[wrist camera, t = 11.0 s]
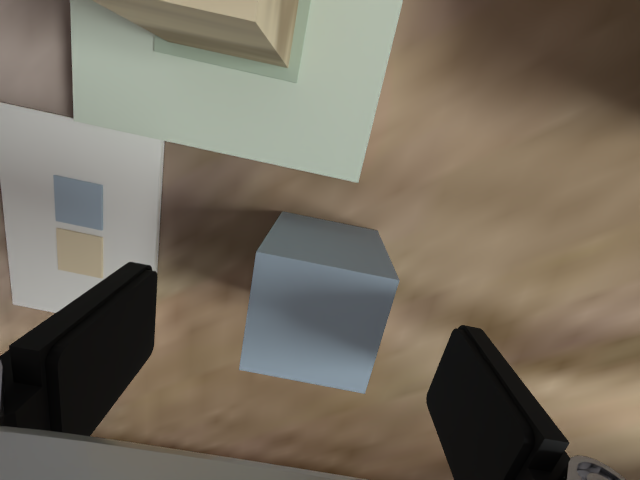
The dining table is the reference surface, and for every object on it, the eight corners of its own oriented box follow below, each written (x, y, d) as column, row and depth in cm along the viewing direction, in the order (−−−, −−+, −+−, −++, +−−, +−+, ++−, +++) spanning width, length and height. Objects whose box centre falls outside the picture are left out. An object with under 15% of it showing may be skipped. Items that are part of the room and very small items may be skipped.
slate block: (355, 313, 19) (364, 393, 13) (268, 296, 18) (239, 369, 13) (377, 230, 17) (399, 280, 11) (282, 211, 17) (256, 251, 11)
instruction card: (154, 329, 19) (150, 333, 19) (17, 301, 19) (11, 305, 19) (164, 137, 16) (160, 137, 15) (-2, 101, 16) (-11, 100, 15)
